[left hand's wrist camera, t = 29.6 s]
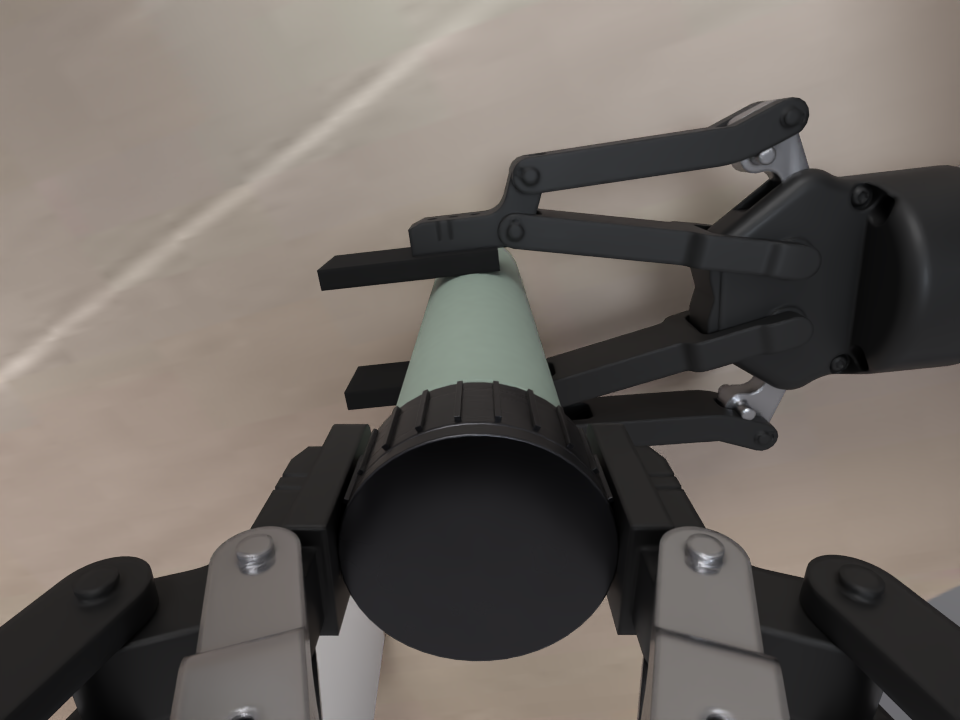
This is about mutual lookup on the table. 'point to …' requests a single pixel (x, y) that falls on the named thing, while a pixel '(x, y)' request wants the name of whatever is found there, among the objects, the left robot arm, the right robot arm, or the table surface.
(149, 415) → the table surface
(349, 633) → the mug
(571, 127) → the table surface
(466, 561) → the lid
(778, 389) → the right robot arm
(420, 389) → the slim green bottle
